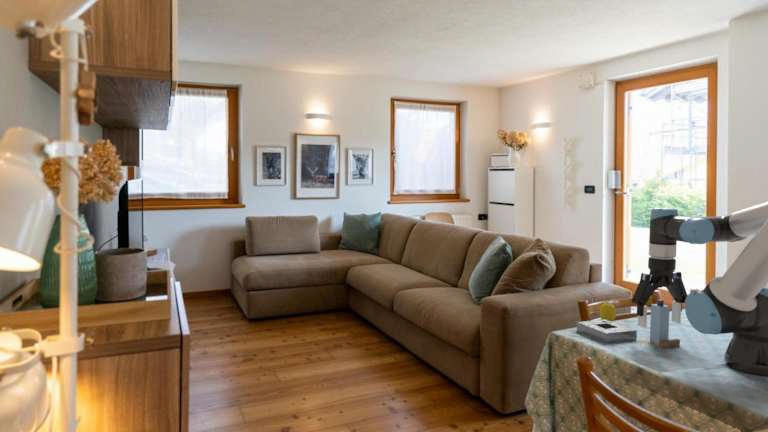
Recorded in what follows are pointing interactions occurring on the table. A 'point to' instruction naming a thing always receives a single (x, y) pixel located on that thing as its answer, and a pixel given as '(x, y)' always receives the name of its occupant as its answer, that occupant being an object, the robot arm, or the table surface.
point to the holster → (664, 343)
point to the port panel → (606, 331)
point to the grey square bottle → (659, 322)
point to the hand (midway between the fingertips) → (659, 324)
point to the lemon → (607, 311)
